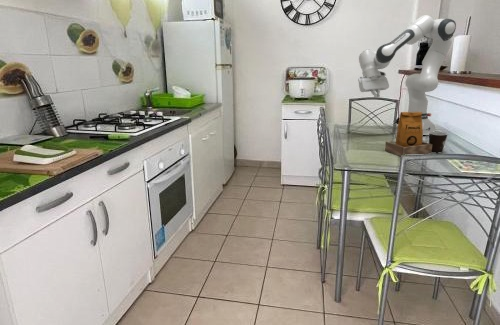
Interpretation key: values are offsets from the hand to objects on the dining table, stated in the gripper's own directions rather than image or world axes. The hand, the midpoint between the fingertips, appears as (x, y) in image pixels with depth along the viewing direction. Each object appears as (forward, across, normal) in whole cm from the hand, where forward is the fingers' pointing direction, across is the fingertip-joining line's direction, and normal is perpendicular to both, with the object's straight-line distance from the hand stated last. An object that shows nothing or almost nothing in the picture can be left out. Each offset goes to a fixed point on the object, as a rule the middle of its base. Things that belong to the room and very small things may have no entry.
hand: (377, 97), depth 200 cm
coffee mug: (+41, +10, -20) cm, 47 cm away
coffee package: (+38, -5, -15) cm, 41 cm away
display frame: (+37, -5, -15) cm, 41 cm away
